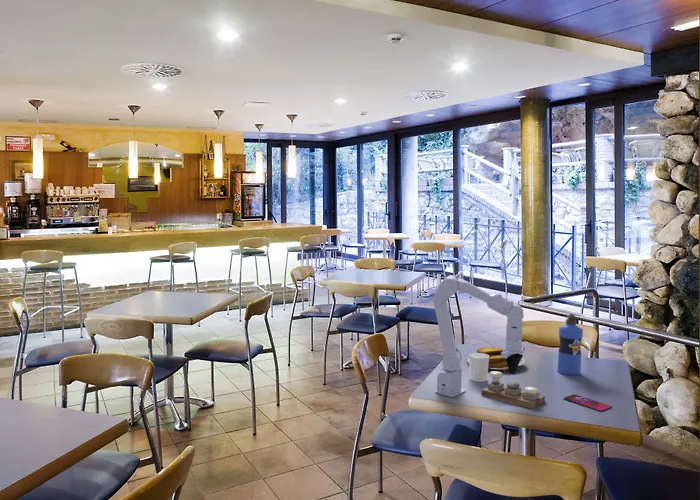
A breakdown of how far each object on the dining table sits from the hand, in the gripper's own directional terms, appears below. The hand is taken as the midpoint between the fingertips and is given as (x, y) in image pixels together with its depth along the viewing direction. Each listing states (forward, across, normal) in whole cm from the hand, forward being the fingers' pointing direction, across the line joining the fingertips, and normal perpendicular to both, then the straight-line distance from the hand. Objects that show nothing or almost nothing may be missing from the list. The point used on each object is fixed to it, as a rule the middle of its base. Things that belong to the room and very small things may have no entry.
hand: (512, 373), depth 205 cm
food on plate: (+10, +34, +25) cm, 43 cm away
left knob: (+5, 0, +7) cm, 8 cm away
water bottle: (+9, +45, -3) cm, 46 cm away
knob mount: (+9, 0, 0) cm, 9 cm away
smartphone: (+10, +14, -22) cm, 28 cm away
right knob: (+7, 0, -7) cm, 10 cm away
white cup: (+10, +10, +20) cm, 24 cm away
